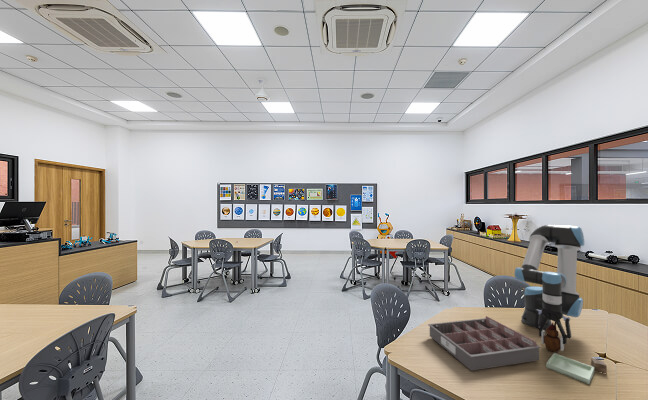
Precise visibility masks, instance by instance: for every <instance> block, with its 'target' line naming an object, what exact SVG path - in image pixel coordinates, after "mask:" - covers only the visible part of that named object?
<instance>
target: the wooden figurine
mask: <svg viewBox="0 0 648 400" xmlns="http://www.w3.org/2000/svg"><path fill="white" fill-rule="evenodd" d="M551 322H552V325H550V326H549V328H547V329H545V336H544V346H545V349H546V350H548V351H550V352H553V353H559V352H560V351H561V337H559V333H560V332H559V331H558V329H557V324H556V322H555V321H551Z"/></svg>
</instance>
